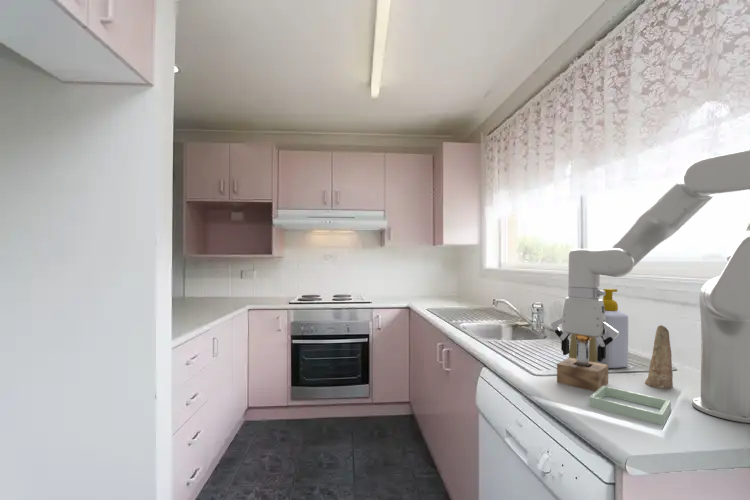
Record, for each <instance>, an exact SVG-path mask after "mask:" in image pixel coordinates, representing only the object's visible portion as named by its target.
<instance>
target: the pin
mask: <svg viewBox="0 0 750 500" xmlns="http://www.w3.org/2000/svg"><path fill="white" fill-rule="evenodd" d="M575 338H576V339H577V365H579V366H584V367H589V340H591V337H590V336H583V335H576V334H575Z"/></svg>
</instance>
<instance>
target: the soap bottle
mask: <svg viewBox="0 0 750 500" xmlns="http://www.w3.org/2000/svg"><path fill="white" fill-rule="evenodd" d="M602 291H605V293H606V294H605V296H602V300H603V303H604V309H605V318H606V323H607V324H608V325H610V326H611V327H612V328H614V329H615V330H617V331H618V332H619V334H618V335H617V337H616V338H615V339H614V340H613V341H612V342H610V343H609V344H608V345H606V358H605V359H603V361H601V362H599V361H598V360H597V363H601V364H606V365H608V369H618V368H626V367H628V365H629V315H628V313H625V312H623V311H621V310H618V309H619V304H618V302H617V301H615V300H614V299H613V293H616V292H618V288H603V289H602ZM603 336H604V338H605V339H607V338H608V337H609V336H610V332H608V331H607V330H606V333H605V334H604V335H603ZM598 346H599V343H598V341H597V340H596V348H597V354H598Z"/></svg>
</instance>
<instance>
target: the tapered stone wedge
mask: <svg viewBox="0 0 750 500" xmlns="http://www.w3.org/2000/svg"><path fill="white" fill-rule="evenodd" d="M653 341H654V342H653V349H652V355H651V358H650V359H651V360H650V363H649V369H648V373H647V374H648V375H647V377H646V379H645V382H644V384H645V385H647V386H649V387H652V388H656V389H672V388H673V387H674V383H673V382H674V381H673V374H674V373H673V362H672V350H671V349H672V347H671V341H670V332H669V330H668V327H666V326H664V325H663V324H660V325H658V326H657V328H656V331H655V335H654V340H653Z"/></svg>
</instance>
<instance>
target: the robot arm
mask: <svg viewBox="0 0 750 500" xmlns="http://www.w3.org/2000/svg"><path fill="white" fill-rule="evenodd" d="M740 191H747V192H748V193H749V194H750V149H747V150H743V151H737V152H731V153H727V154H720V155H716V156H714V155H713V156H710V157H706V158H701V159H699V160H696V161H694V162H693V163H691V164H690V163H689V165H688V166H687V167H686V168H685V169H684V170H683V172H682V173H681V174H680V175H679V176H678V177H677V179H675V180H674V181H673V182H672V183H671V184H670V185H669V186H668V187H667V188H666V189H665V190H664V191H663V192H662V193H661V194H660V195H659V196H658V197H657V198H656V199H655V200H654V201H653V202H652V203H651V204H650V205H649V206H648V207H646V209H644V211H643V212H641V214H640V215H639V217H638V218H637V220H636V221H635V223H634V224H633V225H632V226H631V227H630V228H629V229H628V231H626V233H625V234H624V235H622V237H621V238H620V239H619V240H617V242H616V243H614V244H613V246H612V247H611V248H605V249H593V248H574V249H571V250H570V251H569V252H568V290H567V291H568V296H567V297H565V299H564V305H563V310H562V317H561V318H559V319H558V320H555V321H553V322H551V323H550V326H551V327H552V329H553V330H554V333H555V334H556V335H557V337H558V338H559V340H561V341H560V342H561V346H560V347H561V352H562V356H567V355H569V349H570V339H569V337H570V336H571V334H576V335H583V336H590V337H595V338H596V340H597V341H598V343H599V346H598V354H597V360H598V361H599V362H601V361H603V359H605V358H606V345H608V344H609V343H610V342H612V341H613V340H614V339H615V338H616V337H617V335H618V334H619V332H618V331H617V330H615V329H614V328H612V327H611V326H610V325H608V324H607V323H606V318H605V309H604V303H603V299H601V297H603V296H605V294H606V293H605V291H603V289H601V288H600V279H601V278H600V276H606V277H612V278H621V277H625V276H626V275H628V274H630V273H631V272H632V271H633V269H634V267H635V266H636V265H638V263H640V262H641V261H642V260H643V259H644V258H645V257H646V256H647V255H648V254H649V253H650V252H651V251H653V249H655V248H656V247H657V246H659V245H660V244H661V243H663V242H664V241H665V240H667V239H669V238H670V237H672V236H673V235H674V234H675V233H677V231H678V230H680V229H681V227H683V226H684V225H686V223H687V222H689V221H690V219H691V218H693V217H694V216H695V215H696V214H697V213H698V212H699V211H700V210H701V209H702V208H704V207H705V205H707V204H708V203H709V202H710V201H711V200H712V199H714V197H715V196H717V195H718V194H724V193H731V192H732V193H733V192H740ZM725 253H726V254H725V257H726V261H727V264H726V265H725V267H724V269H723V271H722V272H721V273H720V275H719V276H715V277H713V278H712V277H711V279H709V280H707V281H706V282H705V283H704V284H703V285H702V287H701V289H700V292H699V297H698V298H699V309H700V310H699V312H700V313H699V314H700V338H701V339H700V397H698V396H697V397H694V398H693V399H692V401H691V404H692V406H693V407H694V409H696V410H698V411H700V412H702V413H705V414H708V415H711V416H714V417H716V418H720V419H724V420H727V421H733V422H737V423H744V424H745V423H746V424H750V211H749V212H748V214H747V215H746V217H745V220H744V222H743V223H742V224H741V226H740V228H739V230H738V232H737V233H736V235H735V236H734V238H733V240H732V241H731V242H730V244H729V245H728V246H727V249H726V252H725ZM560 325H561V328H560V327H559V326H560ZM561 329H562V330H561ZM606 330H607V331H608V332H610V336H609V337H608V338H607V339H605V338H604V336H603V335H604V334H605V333H606Z"/></svg>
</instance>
